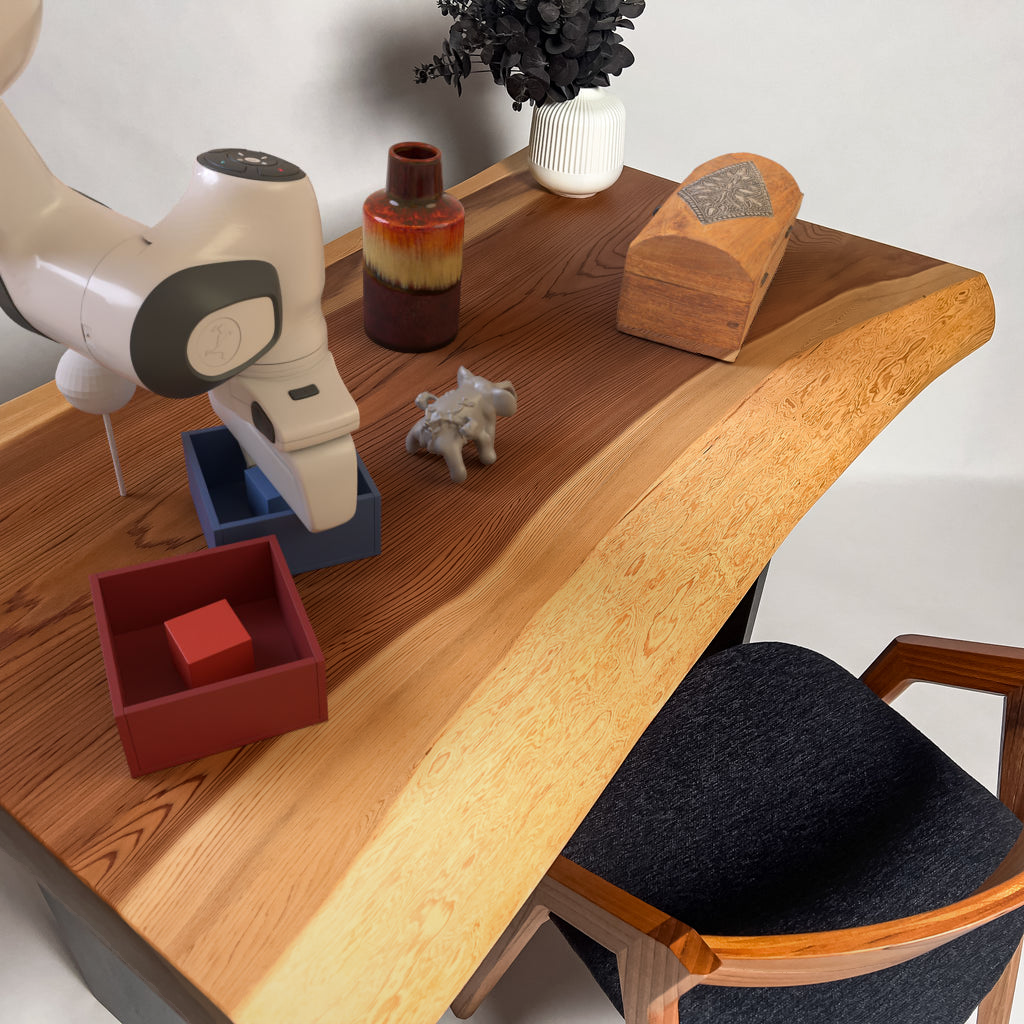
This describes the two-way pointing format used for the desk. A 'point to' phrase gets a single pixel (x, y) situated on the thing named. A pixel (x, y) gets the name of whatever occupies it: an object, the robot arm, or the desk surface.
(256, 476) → the blue block
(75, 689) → the desk surface
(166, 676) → the red bin
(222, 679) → the red block
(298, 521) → the blue bin
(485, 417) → the grey animal figurine
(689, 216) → the wooden box
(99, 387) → the lollipop
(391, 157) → the vase
